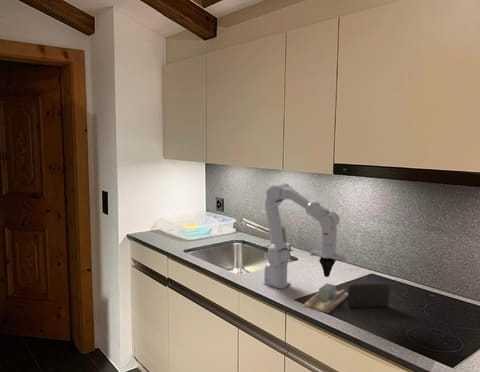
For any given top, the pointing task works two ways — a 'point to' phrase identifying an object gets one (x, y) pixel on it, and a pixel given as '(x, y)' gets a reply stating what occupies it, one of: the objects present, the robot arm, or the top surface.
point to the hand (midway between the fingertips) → (326, 276)
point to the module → (327, 292)
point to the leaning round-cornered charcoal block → (368, 294)
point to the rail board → (324, 305)
